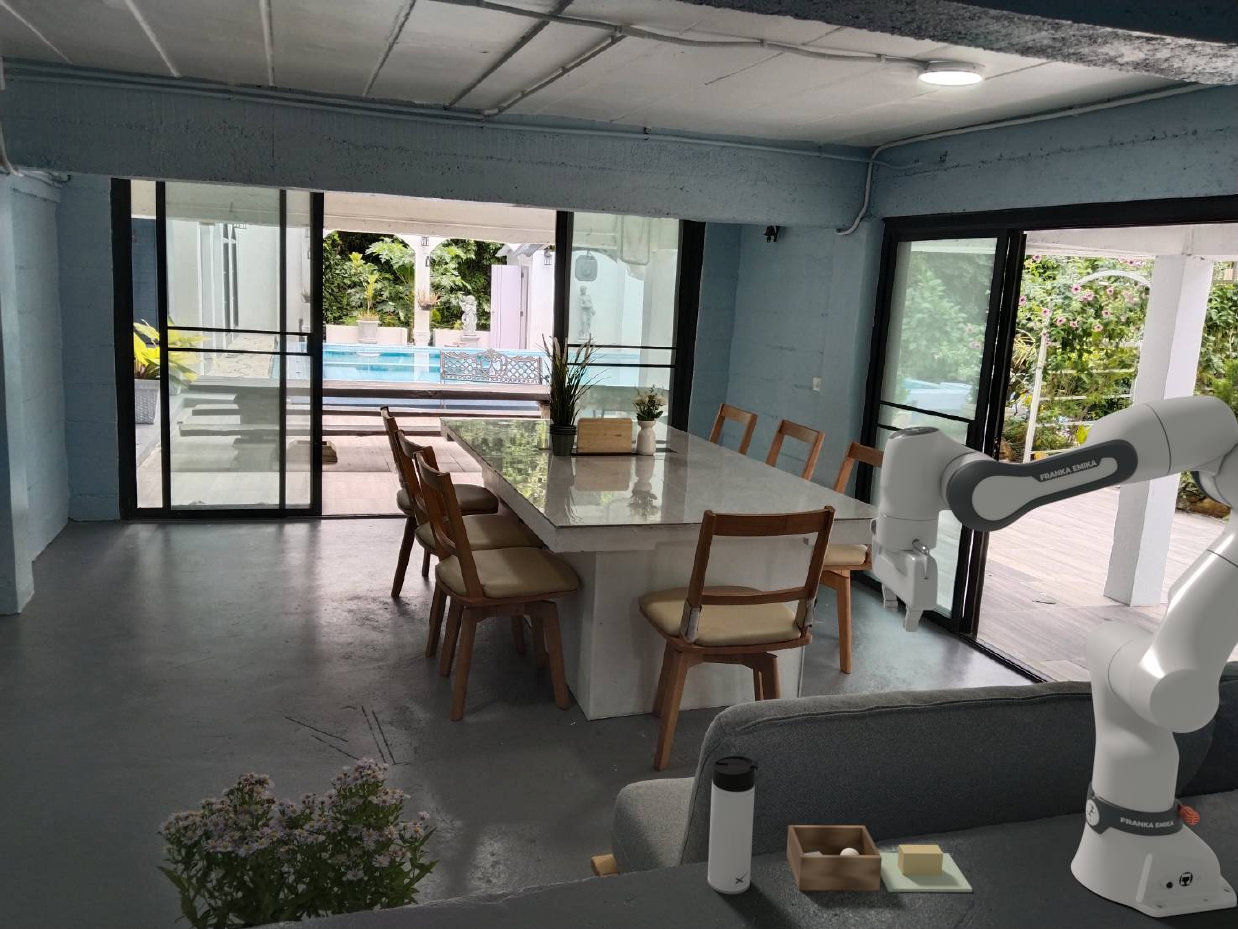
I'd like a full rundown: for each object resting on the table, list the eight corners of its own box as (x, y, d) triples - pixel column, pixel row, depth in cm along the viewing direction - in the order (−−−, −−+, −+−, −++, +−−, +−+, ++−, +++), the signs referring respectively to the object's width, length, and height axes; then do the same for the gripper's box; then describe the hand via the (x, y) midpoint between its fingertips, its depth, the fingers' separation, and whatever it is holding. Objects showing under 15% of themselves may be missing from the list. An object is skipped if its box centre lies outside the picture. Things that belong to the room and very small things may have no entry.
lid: (947, 862, 154) (950, 832, 153) (971, 898, 145) (974, 867, 144) (868, 862, 154) (870, 832, 153) (887, 898, 144) (889, 866, 143)
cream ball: (856, 863, 151) (858, 844, 151) (862, 875, 148) (864, 855, 148) (836, 863, 151) (837, 844, 151) (841, 874, 148) (843, 855, 147)
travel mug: (750, 902, 142) (756, 773, 139) (705, 895, 143) (710, 768, 140) (753, 878, 148) (759, 754, 145) (709, 872, 149) (715, 749, 146)
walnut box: (861, 861, 153) (864, 825, 152) (879, 895, 144) (881, 857, 143) (786, 860, 153) (788, 825, 152) (798, 894, 144) (801, 857, 143)
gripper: (952, 550, 138) (944, 644, 140) (905, 519, 158) (898, 601, 160) (908, 549, 137) (901, 643, 140) (867, 518, 158) (861, 600, 160)
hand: (899, 620), depth 150 cm, fingers open, 8 cm apart
